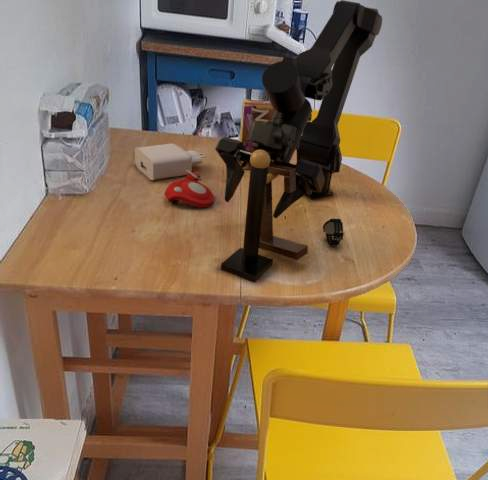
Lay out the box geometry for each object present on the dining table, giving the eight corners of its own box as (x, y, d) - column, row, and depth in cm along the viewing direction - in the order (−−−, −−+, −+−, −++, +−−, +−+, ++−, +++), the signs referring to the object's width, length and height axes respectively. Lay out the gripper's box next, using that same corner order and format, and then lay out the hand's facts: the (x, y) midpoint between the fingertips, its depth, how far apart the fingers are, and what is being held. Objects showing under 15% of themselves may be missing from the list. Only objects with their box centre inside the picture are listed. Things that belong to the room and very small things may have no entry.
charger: (214, 172, 115) (153, 182, 107) (194, 158, 121) (135, 166, 112) (215, 152, 112) (152, 161, 104) (194, 138, 118) (134, 146, 110)
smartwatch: (343, 240, 95) (348, 216, 92) (339, 253, 91) (344, 229, 88) (321, 235, 96) (326, 212, 93) (317, 248, 91) (321, 224, 89)
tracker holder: (224, 200, 100) (179, 197, 94) (216, 218, 103) (172, 215, 97) (200, 165, 107) (157, 160, 101) (193, 182, 109) (151, 178, 103)
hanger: (265, 240, 89) (263, 160, 82) (307, 253, 84) (309, 169, 77) (254, 246, 87) (250, 164, 80) (297, 260, 82) (297, 174, 75)
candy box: (273, 163, 123) (280, 100, 115) (276, 170, 120) (284, 106, 111) (237, 162, 121) (242, 98, 113) (239, 169, 118) (244, 103, 109)
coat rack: (250, 243, 90) (261, 134, 79) (282, 255, 88) (298, 144, 77) (220, 269, 82) (228, 152, 71) (254, 283, 80) (268, 163, 69)
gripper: (224, 87, 81) (183, 172, 78) (331, 114, 75) (290, 206, 73) (244, 124, 91) (208, 200, 89) (339, 151, 86) (304, 232, 83)
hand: (250, 209), depth 83 cm, fingers open, 9 cm apart
